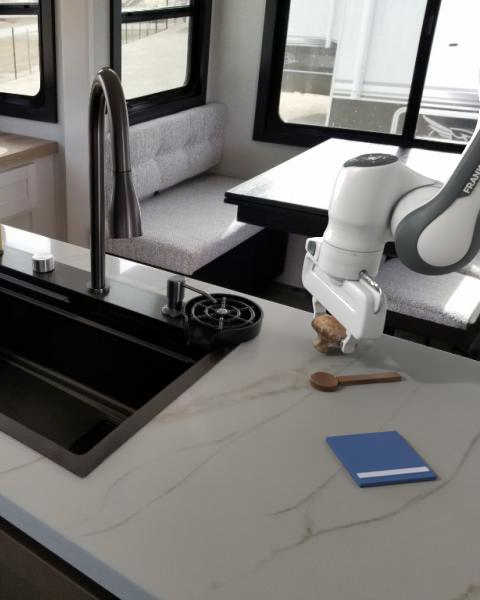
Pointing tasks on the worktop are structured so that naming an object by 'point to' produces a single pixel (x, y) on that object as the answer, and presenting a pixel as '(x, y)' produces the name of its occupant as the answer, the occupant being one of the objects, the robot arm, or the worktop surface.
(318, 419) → the worktop surface
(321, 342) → the mushroom
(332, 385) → the spoon
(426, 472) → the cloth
